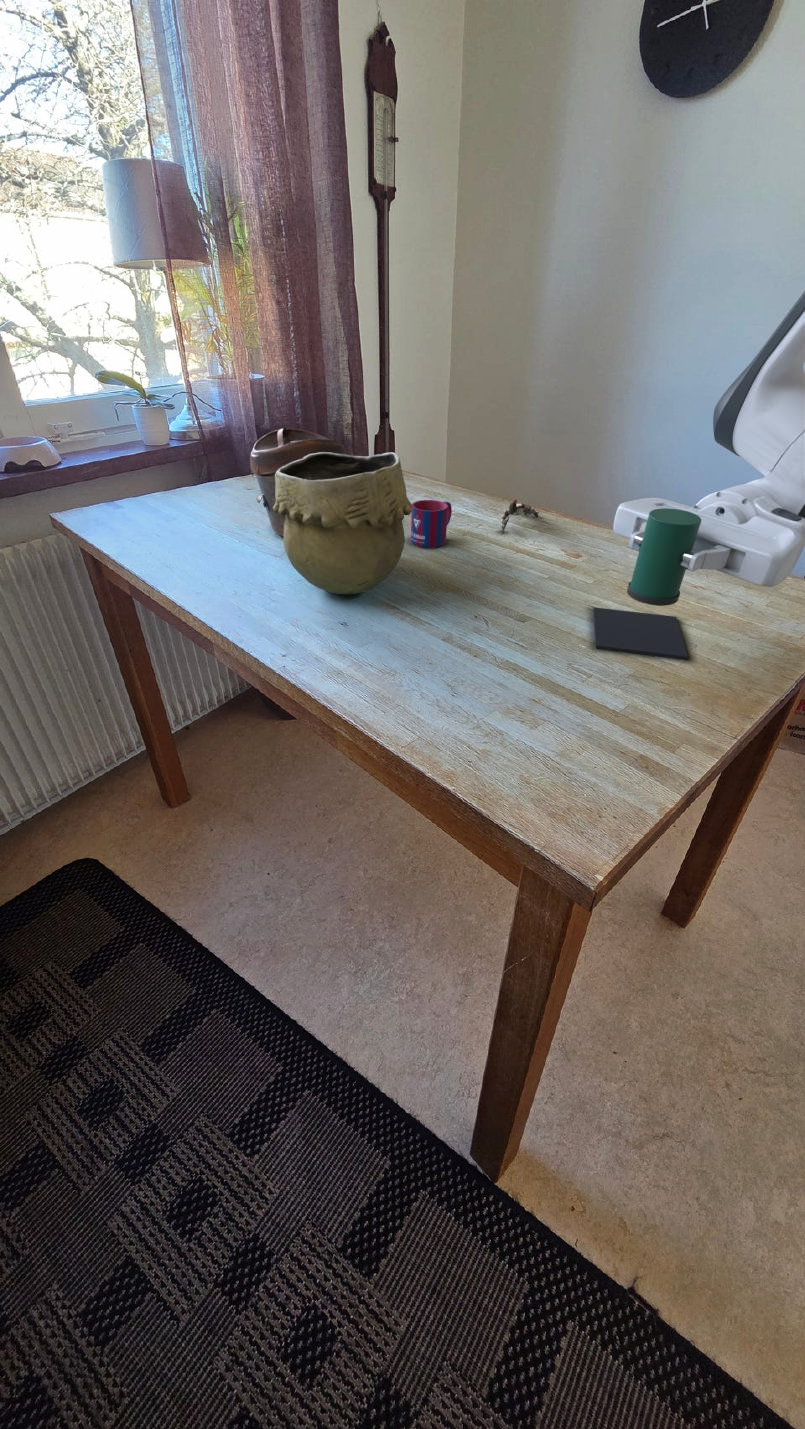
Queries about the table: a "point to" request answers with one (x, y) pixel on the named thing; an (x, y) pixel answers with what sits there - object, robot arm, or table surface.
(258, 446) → the brown planter
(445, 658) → the table surface
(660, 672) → the table surface
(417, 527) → the mug
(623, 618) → the mat
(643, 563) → the thermos cap
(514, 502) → the figurine
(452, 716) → the table surface
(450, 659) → the table surface
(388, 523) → the clay pot
